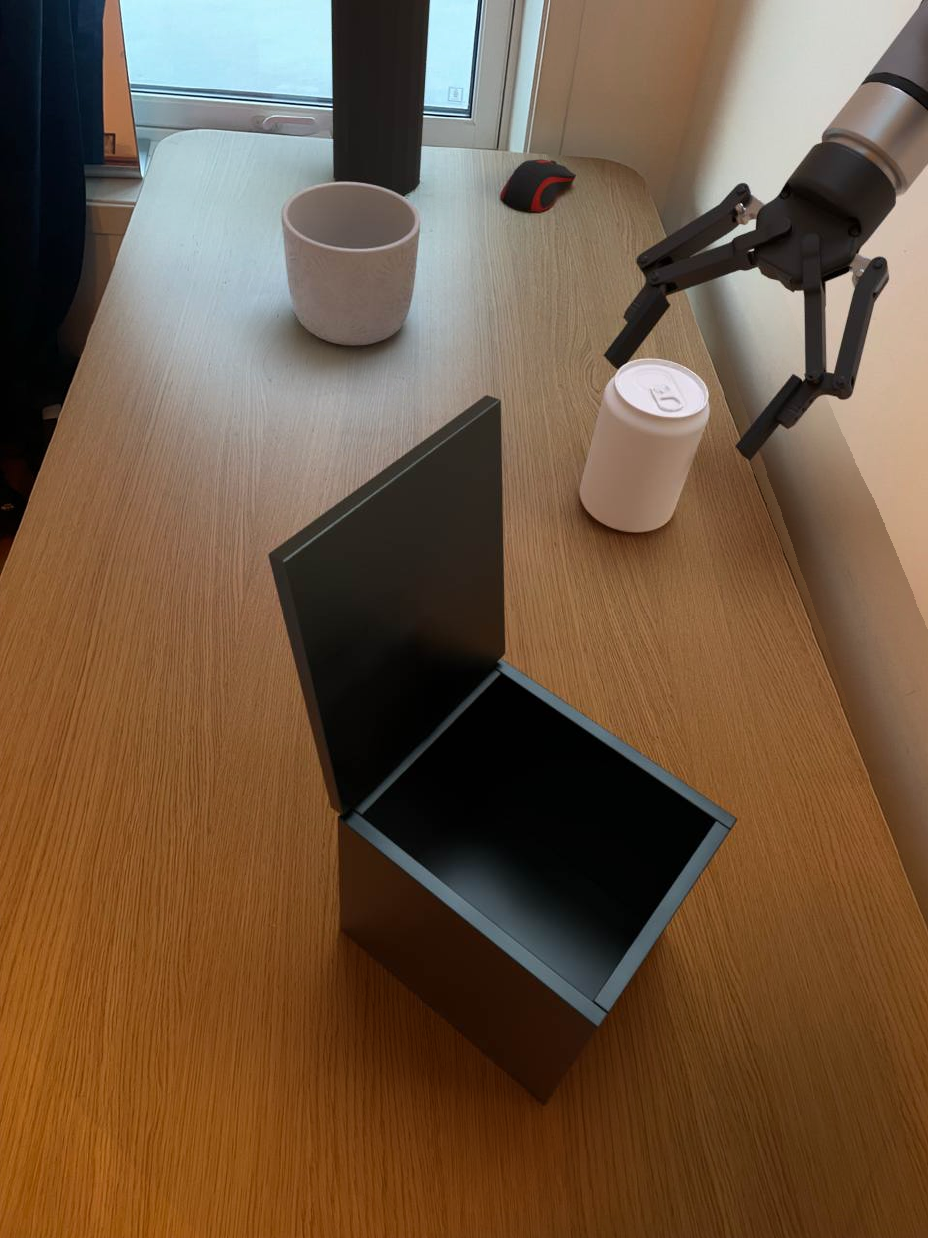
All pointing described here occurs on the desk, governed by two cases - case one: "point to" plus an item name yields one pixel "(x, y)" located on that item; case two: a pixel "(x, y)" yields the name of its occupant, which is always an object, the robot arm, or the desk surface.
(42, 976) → the desk surface
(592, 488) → the beverage can
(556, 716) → the trash bin
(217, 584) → the desk surface
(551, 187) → the computer mouse
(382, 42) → the vase
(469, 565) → the bin lid
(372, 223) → the planter
